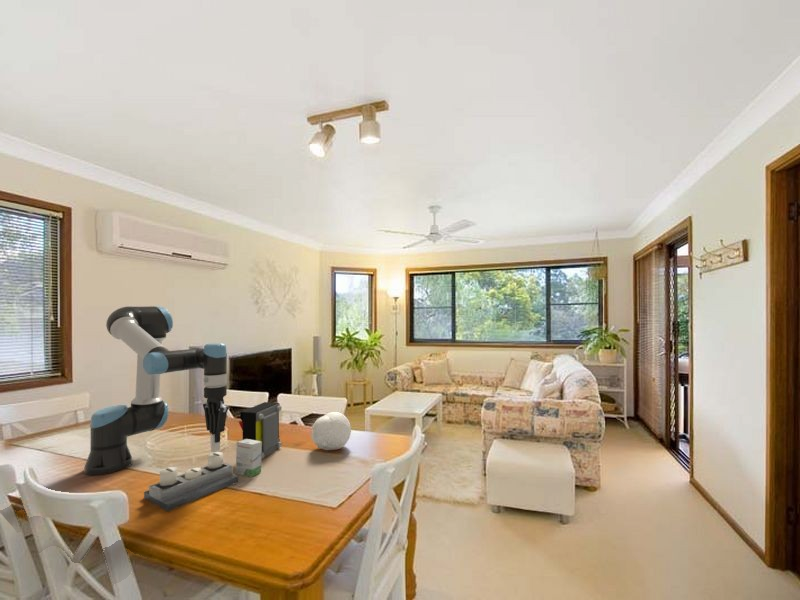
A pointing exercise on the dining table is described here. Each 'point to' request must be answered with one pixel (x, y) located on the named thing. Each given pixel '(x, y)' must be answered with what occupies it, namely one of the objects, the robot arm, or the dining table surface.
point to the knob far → (215, 460)
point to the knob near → (168, 476)
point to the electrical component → (262, 425)
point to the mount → (191, 487)
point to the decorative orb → (331, 431)
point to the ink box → (248, 457)
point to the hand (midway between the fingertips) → (215, 450)
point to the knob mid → (192, 473)
